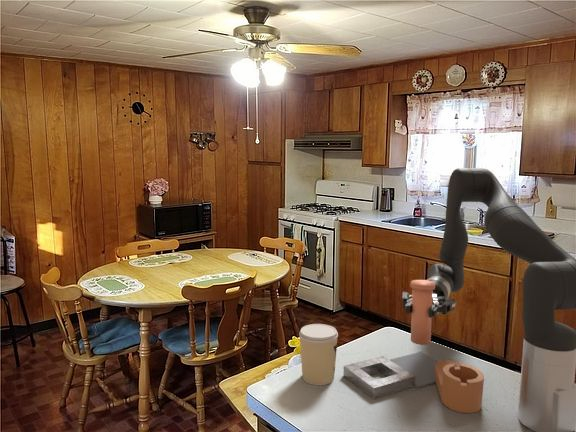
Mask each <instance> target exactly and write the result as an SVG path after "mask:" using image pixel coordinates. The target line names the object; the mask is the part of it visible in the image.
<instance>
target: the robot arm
mask: <svg viewBox="0 0 576 432" xmlns="http://www.w3.org/2000/svg"><path fill="white" fill-rule="evenodd" d="M447 186H448V187H447V195H446V197H447V198H446V206H445V207H446V208H445V223H444V232H443V237H442V241H441V245H440V250H439V253H438V257H439V260H440V262H441V263H434V264H432V266H430V267H429V271H428V274H427V279H426V280H428V281H432V282H434V283H435V289H434V290H433V298H432V306H431V307H430V309H429V317H430V318H432V319H433V317H436V316H437V315H438V314H440V313H441V314H442V315H448V314H449V313H451V312H453V311H454V310H456V299H455V298H450V299H449V297H450V295H451V293H457V292H459V291H460V290H462V288H463V287H464V284H465V272H464V271H465V270H464V260H465V256H466V252H467V248H468V245H469V234H468V231H467V228H466V226H465V224H464V221H463V219H462V216H461V206H462V204H463V203H482V204H484V205H486V207H488V208H487V209H486V212H485V215H484V216H485V217H484V226H485V230H486V231H487V233H488V234H489V236H490V237H491V238H492V239H493V241H494V243H496V245H498V247H500V248H501V249H503V251H505V252H507V253H508V254H511V255H512V256H514V257H516V258H518V259H521V261H522V260H523V262H526V263H528V264H529V265H527V267H526V269H525V271H524V273H523V277H522V278H523V279H522V306H521V307H522V313H521V318H522V326H523V345H522V357H521V368H520V369H521V374H520V383H519V396H518V397H519V399H518V400H519V401H518V414H517V418H518V420H519V422H520V423H521V424H522V425H523V426H524V427H526V428H528V429H529V430H531V431H533V432H575V431H576V383H575V377H576V376H575V375H576V330H575V329H574V328H572V327H571V326H570V325H567V324H565V323H563V322H559V321H556V320H555V310H556V311H559V310H560V311H563V310H565V311H567V310H576V258H574V257H573V256H572V255H571V254H570V253H568V252H567V251H566V250H564V249H563V248H562V247H561V246H560V245H558V244H557V243H556V242H555V241H554V240H553V239H552V238H551V237H550V236H549V235H547V233H546V232H544V230H542V229H541V227H539V226H538V225H537V223H536V222H535V221H534V220H533V218H531V216H530V215H529V214H528V213H527V212H526V211H525V210H524V209H523V208H522V207H521V206H520V205H519V204H517V203H516V201H515V200H514V199H513V198H512V197H511V196H510V195H509V194H508V192H507V191H506V190H505V189H504V187H503V186H502V184H501V183H500V180H498V178H497V177H496V176H495V174H494V173H493V172H492V171H491V170H489V169H487V168H482V167H458V168H455V169H454V170H453V171H452V172H451V174H450V177H449V181H448V185H447ZM442 263H443V264H442ZM401 301H402V303H401V304H402V305H401V308H404V312H406V314H408V315H410V314H412V294H410V293H408V292H407V291H403V292H402V299H401Z"/></svg>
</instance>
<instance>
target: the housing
mask: <svg viewBox="0 0 576 432" xmlns="http://www.w3.org/2000/svg"><path fill="white" fill-rule="evenodd" d="M390 360H391V359H388V358H387V357H385V356H384V355H382V356H378V357H373V358H370V359H367V360H366V359H365V360H362V361H358V362H355V363H350V364H349V363H348V364H346V365H343V377H345V378H348V379H347V380H349V381H350V382H351V383H352V384H354V385H355V386H356V387H358V388H359V389H360V390H362V391H363V392H364V393H365V394H367V395H368V396H369V397H370V398H372V399H376V398H381V397H384V396H387V395H391V394H394V393H398V392H401V391H404V390H407V389H410V388H414V387H415V376H414V375H413V374H411V373H409V372H408V371H406V370H405V369H403V368H401V367H400V366H398V365H396V364H395V363H393V362H392V361H390ZM378 373H379V374H380V373H381V374H383V375H385V376H386V377H385V376H384V377H382V378H377V379H375V378H374V377H373V376H371V375H374V374H378Z"/></svg>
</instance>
